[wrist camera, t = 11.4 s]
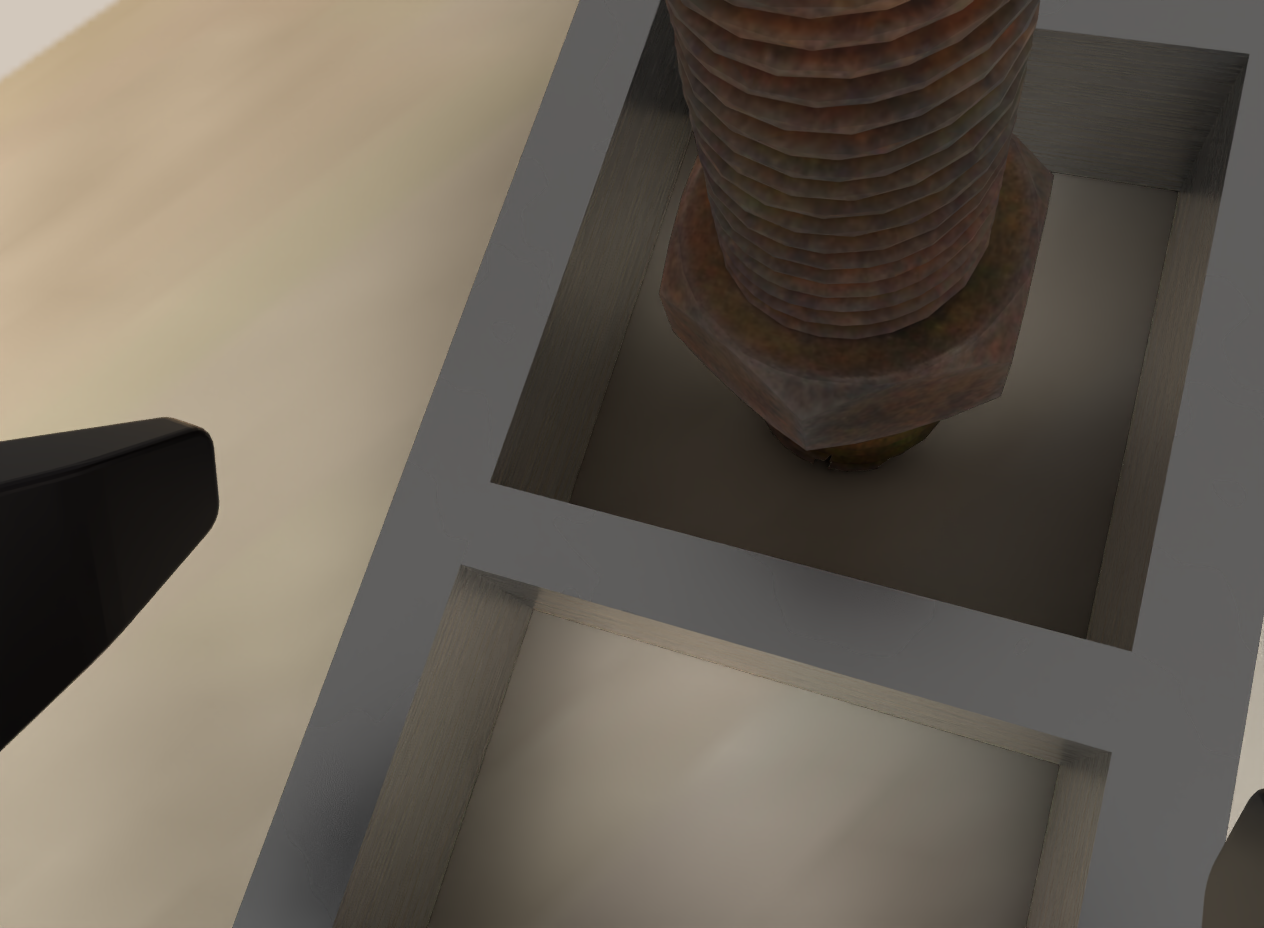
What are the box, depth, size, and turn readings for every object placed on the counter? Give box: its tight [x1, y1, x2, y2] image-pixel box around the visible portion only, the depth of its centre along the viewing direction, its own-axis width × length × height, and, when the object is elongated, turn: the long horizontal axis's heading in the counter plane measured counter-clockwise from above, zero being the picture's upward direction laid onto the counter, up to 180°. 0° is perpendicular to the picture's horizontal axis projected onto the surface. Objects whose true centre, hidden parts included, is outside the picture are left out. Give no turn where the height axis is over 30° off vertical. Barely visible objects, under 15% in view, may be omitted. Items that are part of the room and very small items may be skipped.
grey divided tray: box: [232, 0, 1264, 928], centre depth 15 cm, size 20×11×4 cm, turn 163°
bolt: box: [659, 0, 1054, 471], centre depth 11 cm, size 6×5×15 cm
